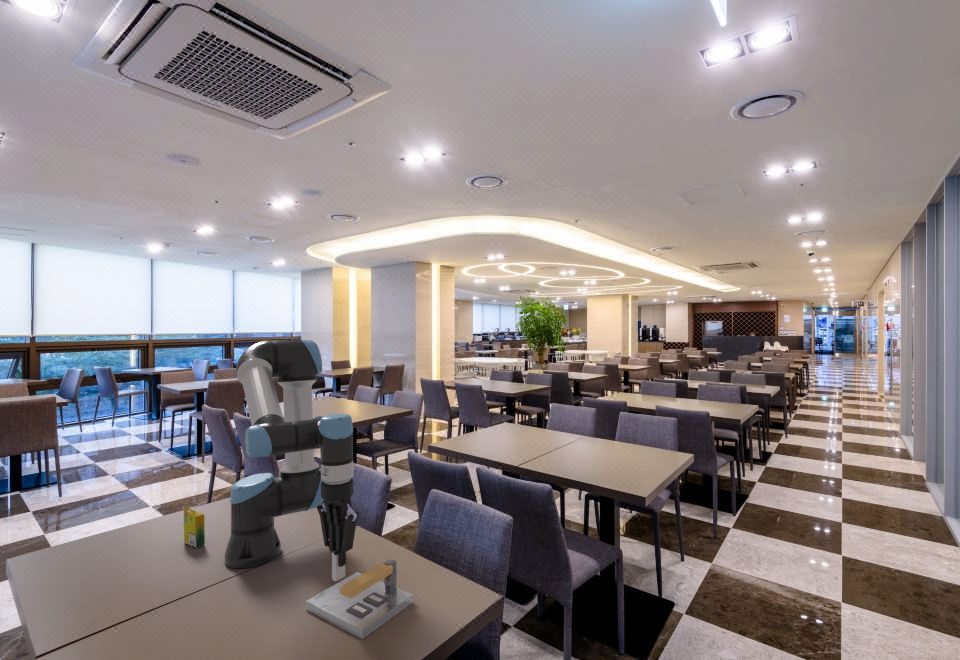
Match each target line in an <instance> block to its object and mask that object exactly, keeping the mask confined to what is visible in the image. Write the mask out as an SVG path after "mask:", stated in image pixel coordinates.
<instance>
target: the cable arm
mask: <svg viewBox="0 0 960 660" xmlns="http://www.w3.org/2000/svg"><path fill="white" fill-rule="evenodd" d="M395 570H397V560H396V559H388V560H386V561H384V562H380V563H379V564H377V565H376V566H374V567H371V568H370V569H368V570H366V571H364V572H363V573H362V574H361V575H359V576H358V577H356V578H354V579H353V580H351V581H349V582H347V583H346V584H344V585H342V586H340V594H342V595H344V596H346V597H348V598H350V599H351V598H353V597H354V596H356V595H358V594H359V593H361V592H362V591H364V590H366V589H367V588H369V587H371V586H372V585H374V584H375V583H377V582H379V581H381V580H383V579H384V578H385V577H387V576H388V575H390V574H392V573H393V571H395Z"/></svg>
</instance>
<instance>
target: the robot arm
mask: <svg viewBox="0 0 960 660" xmlns="http://www.w3.org/2000/svg"><path fill="white" fill-rule="evenodd" d="M322 371H323V360H322V354H321V351H320V348H319V347H318V344H317V343H316V342H315V341H313V340H309V339H284V340H283V339H282V340H281V339H280V340H262V341H259V342H256V343H254V344H252V345H250V346H248V348H247V349H245V350H244V351H243V352H242V353H241V355H240V356H239V358H238V360H237V363H236V366H235V372H236V378H237V380H238V381H239V383H240V384H241V385H242V387H243V391H244V397H245V401H246V405H247V409H248V415H249V419H250V424H251V426H248V427H247V428H246V429H245V433H244V440H245V441H244V442H245V451H246V455H247V457H249V458H267V457H271V456H278V455H283V454H284V465H283V466H282V467H281V468H280V470H279V471H280V472H279V473H280V474H279V476H276V477H275V475H273V473H271V472H264V473H262V472H260V473H255V474H253V475H249V476H246V477H243V478H241V479H239V480H238V481H237V482H235V483H234V484H233V485H232V486H231V488H230V499H229V504H230V537H229V540H228V541H227V542H228V543H227V546H226V549H225V552H224V565H226V566H227V567H228V568H232V569H248V568H254V567H257V566H261V565H264V564H266V563H269V562H270V561H273V560H274V559H276V558H277V557H278V556H279V555H280V553H281V551H282V550H281V549H282V548H281V547H282V545H281V544H282V543H281V541H280V538H279V536H278V532H277V530H276V527H275V518H278V517H281V516H285V515H291V514H297V513H301V512H304V511H305V512H308V511H310V510H313V509H316V508H317V509H316V510H317V512H318V515H319V519H320V525H321V532H322V540H323V544H324V546H325V548H326V547H328V548H329V549H328V550H329V551H330V562H331V579H332V581H334V582H338V581H341V579H342V580H343V578H346V564H347V552H348V551H351V550H353V547H354V540H355V535H356V528H357V522H358V519H359V517H360V512H359V511H354V510H353V504H352V501H351V498H352V496H353V495H354V491H355V490H354V486H355V485H354V479H353V477H354V475H355V474H354V446H353V445H354V434H353V433H354V427H353V418H352V416H351V415H350V414H347V413H332V414H327V415H317V416H314V415H313V413H314V412H313V391H312V390H313V389H312V388H313V387H312V386H313V385H314V384H315V383H316V382H317V376H320V375H321V373H322ZM274 378H277V384H278V385H279V386H280V387H282V390H283V391H282V393H283V394H282V395H283V398H282V399H283V412H282V409H281V405H280V402H279V398H278V394H277V390H276V388H275V385H274V382H273V379H274ZM313 416H314V417H313ZM316 449H317V450H318V449H319V451H320V453H319V454H320V464H319V463H318V462H316V460H315V451H314V450H316Z"/></svg>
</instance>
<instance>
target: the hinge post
mask: <svg viewBox="0 0 960 660" xmlns="http://www.w3.org/2000/svg"><path fill="white" fill-rule="evenodd" d="M397 574H398V573H397V569H396V570H395V571H393V573H392V574H390V575H388V576H387V577H385V578H384V584H385V592H386V593H394V592H395V591H396V590H397V588H398V584H397V583H398V582H397V577H398V576H397Z"/></svg>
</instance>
